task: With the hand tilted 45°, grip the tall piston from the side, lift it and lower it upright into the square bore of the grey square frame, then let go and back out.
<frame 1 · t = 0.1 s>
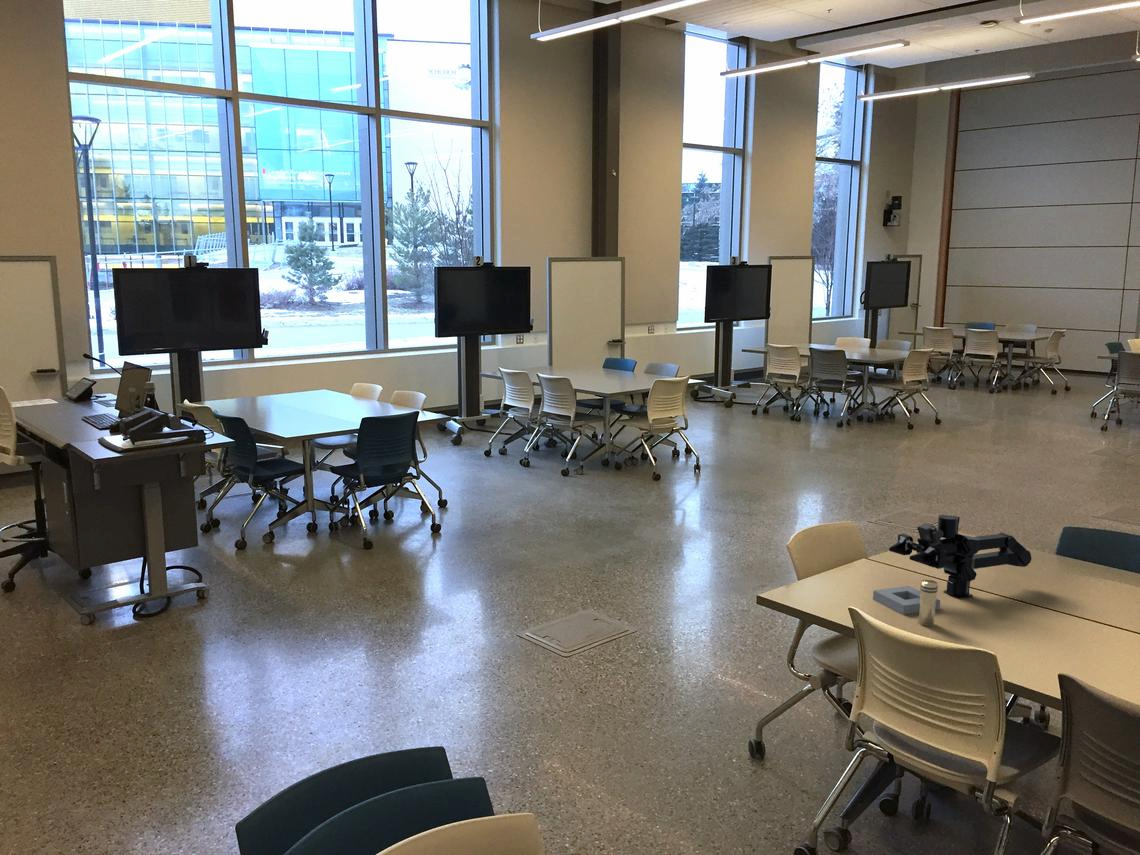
hand: (899, 553, 278), 16 cm above the table, tool horizontal, fingers open, 9 cm apart
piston: (926, 623, 264), on the table
grey square frame: (905, 604, 279), on the table
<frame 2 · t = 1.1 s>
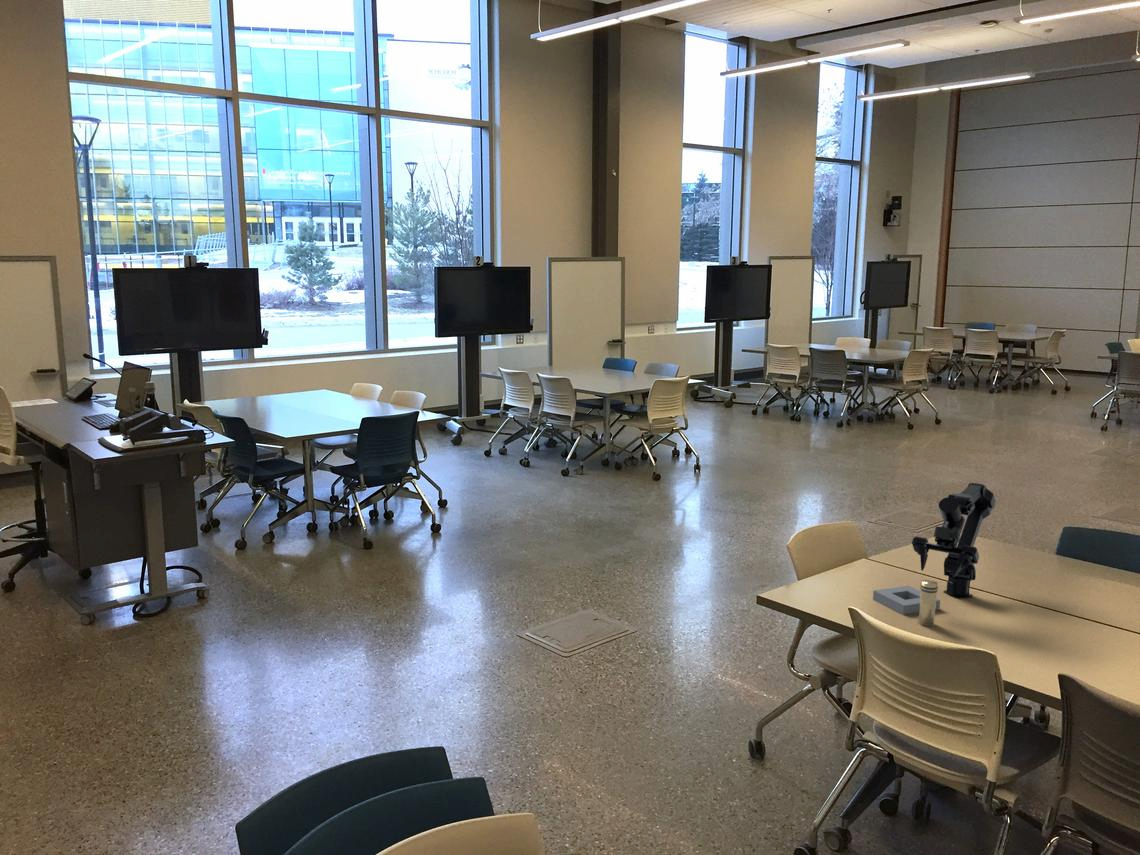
hand: (937, 573, 268), 14 cm above the table, tool tilted 45°, fingers open, 9 cm apart
nothing on the table moved.
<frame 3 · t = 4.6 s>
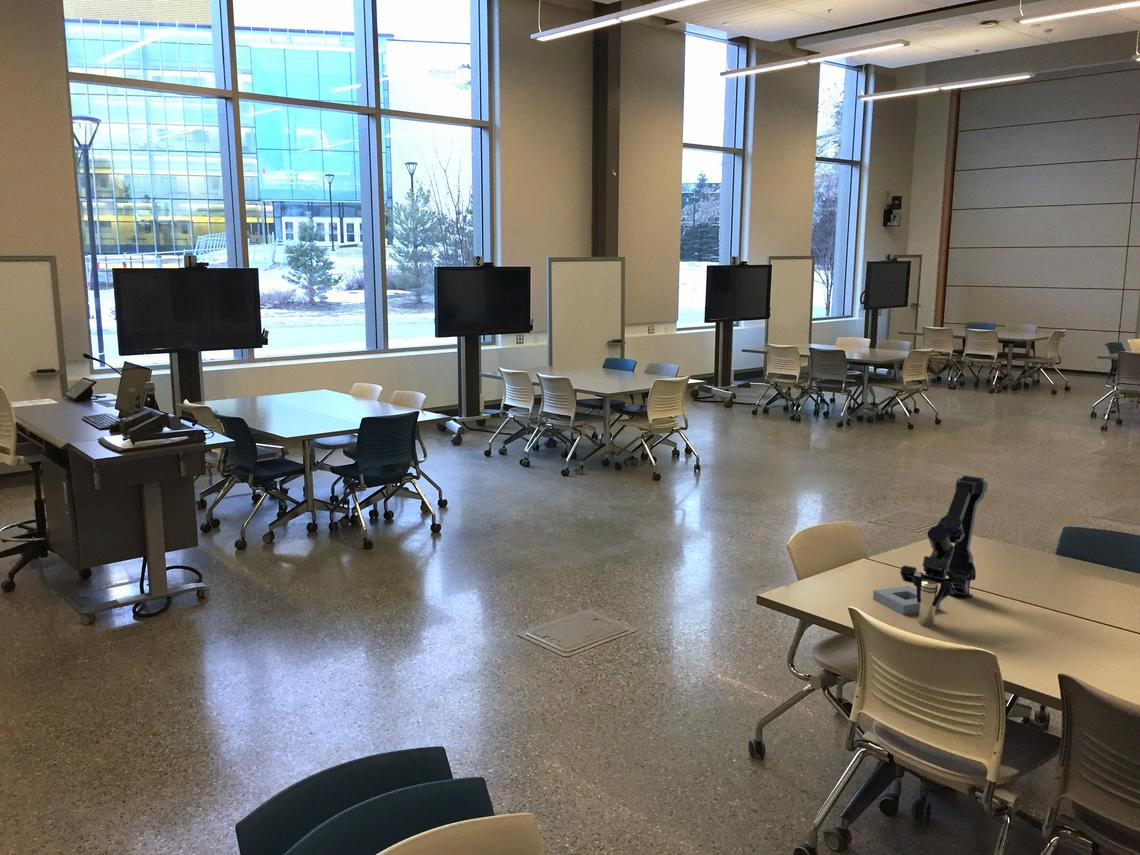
hand: (926, 604, 261), 7 cm above the table, tool tilted 45°, fingers closed on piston, 4 cm apart
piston: (925, 623, 264), on the table, touching gripper
when the fingers open (8 cm above the table, at t = 9.1 s): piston drops 1 cm, resting in grey square frame.
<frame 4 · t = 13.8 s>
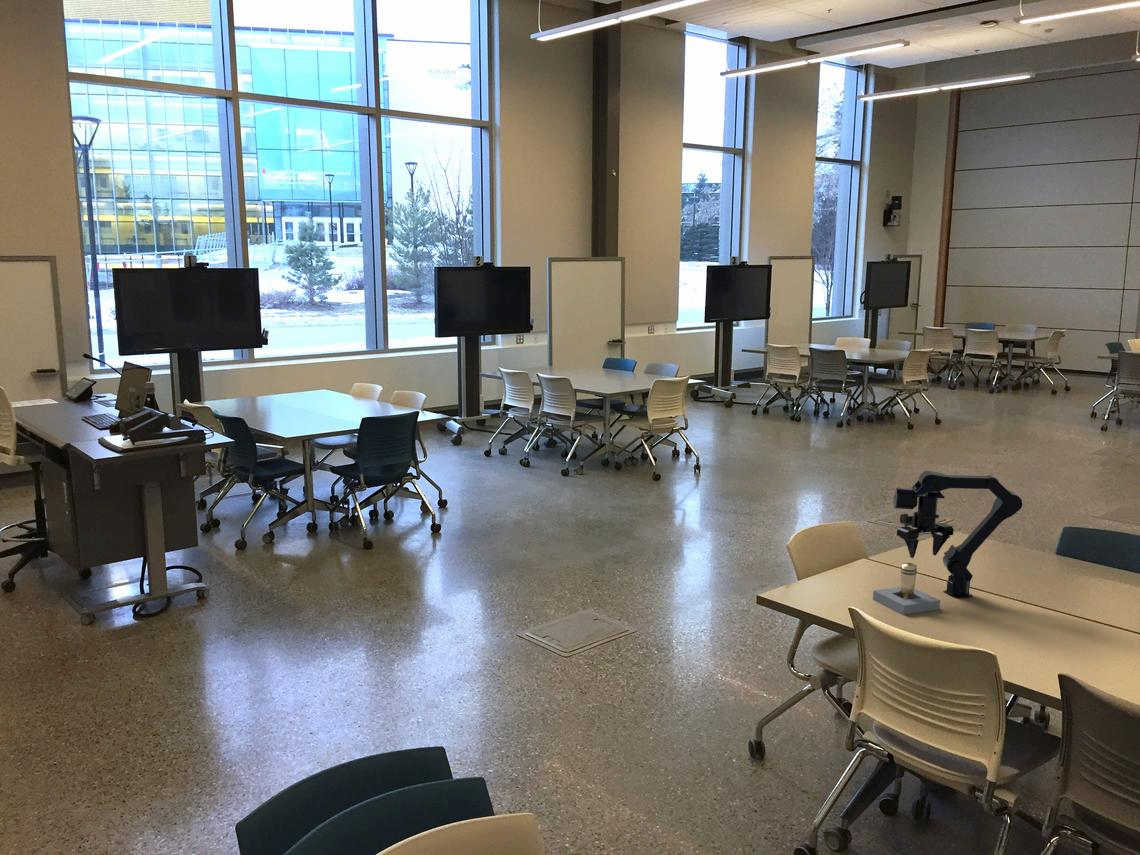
hand: (923, 556, 289), 12 cm above the table, tool pointing down, fingers open, 9 cm apart
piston: (905, 604, 279), resting in grey square frame
at the end: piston 0.1 cm off-centre on the grey square frame, point 0.0 cm above the grey square frame's base; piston tilted 0°; the gripper is holding nothing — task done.
